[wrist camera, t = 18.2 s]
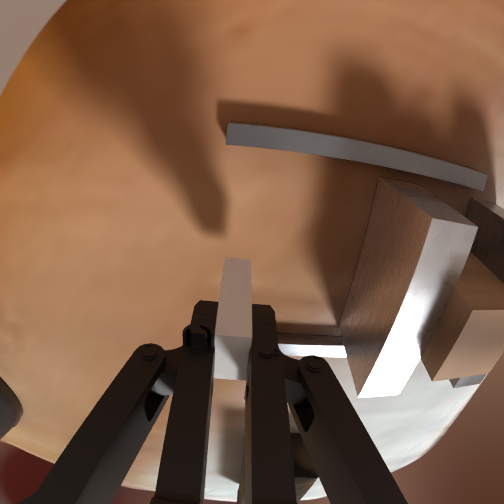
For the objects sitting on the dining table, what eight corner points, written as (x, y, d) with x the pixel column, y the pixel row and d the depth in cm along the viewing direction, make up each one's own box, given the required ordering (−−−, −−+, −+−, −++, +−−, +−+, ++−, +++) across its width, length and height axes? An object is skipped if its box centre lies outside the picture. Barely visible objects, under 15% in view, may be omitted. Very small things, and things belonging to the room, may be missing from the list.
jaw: (337, 327, 24) (358, 397, 18) (379, 176, 19) (432, 218, 12) (372, 328, 24) (398, 394, 18) (418, 184, 19) (478, 227, 12)
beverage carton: (236, 483, 40) (234, 518, 34) (247, 427, 31) (245, 478, 25) (286, 484, 40) (287, 519, 34) (317, 428, 32) (324, 477, 26)
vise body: (214, 339, 25) (204, 410, 18) (229, 121, 17) (214, 134, 11) (437, 345, 25) (467, 400, 19) (503, 179, 18) (564, 214, 12)
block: (436, 295, 23) (488, 372, 15) (385, 292, 23) (431, 381, 15) (457, 240, 20) (527, 309, 12) (405, 232, 20) (472, 310, 12)
